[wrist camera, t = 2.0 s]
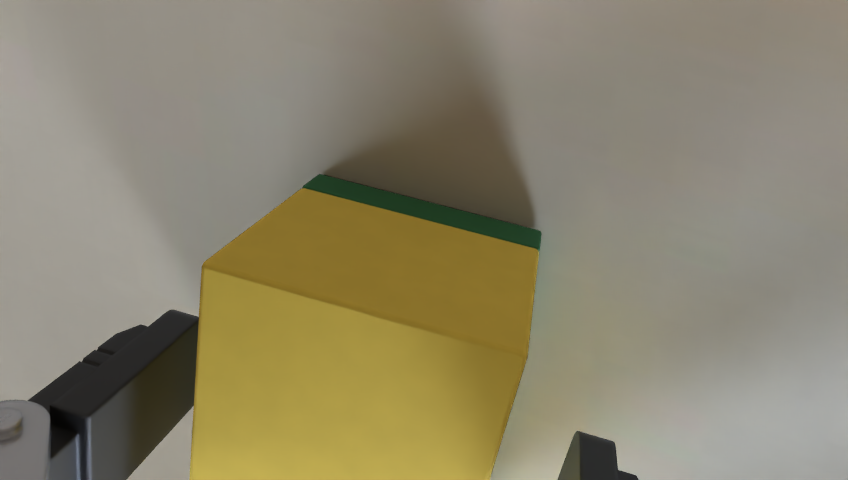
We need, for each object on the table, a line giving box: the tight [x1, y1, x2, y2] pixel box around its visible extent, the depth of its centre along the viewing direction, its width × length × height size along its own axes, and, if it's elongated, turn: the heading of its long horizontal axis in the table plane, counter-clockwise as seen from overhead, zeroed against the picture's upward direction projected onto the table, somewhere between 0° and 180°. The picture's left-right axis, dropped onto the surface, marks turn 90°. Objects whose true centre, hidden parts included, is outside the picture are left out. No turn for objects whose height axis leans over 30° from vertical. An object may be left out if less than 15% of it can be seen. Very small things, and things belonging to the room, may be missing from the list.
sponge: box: [189, 174, 541, 480], centre depth 13 cm, size 8×5×5 cm, turn 169°
